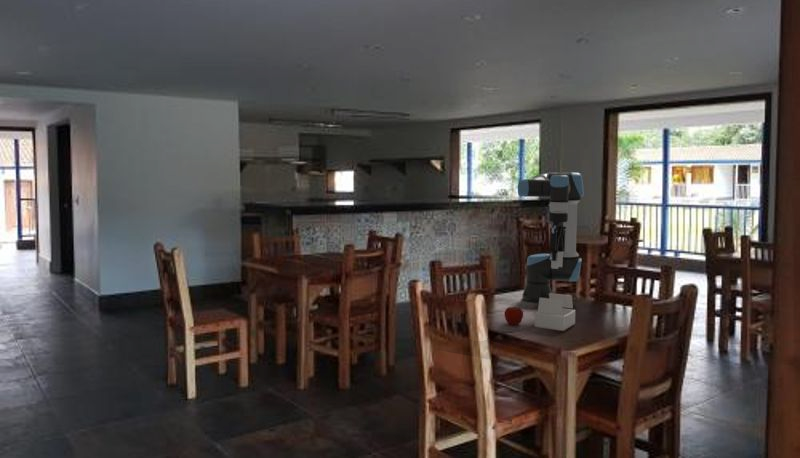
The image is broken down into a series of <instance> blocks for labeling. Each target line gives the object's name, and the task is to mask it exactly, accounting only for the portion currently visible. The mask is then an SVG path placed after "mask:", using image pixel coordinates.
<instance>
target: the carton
mask: <svg viewBox="0 0 800 458" xmlns="http://www.w3.org/2000/svg"><path fill="white" fill-rule="evenodd" d="M575 324H576V309H572V308H564V307H562V314H561V315H558V314H550V313H543V312H538V310H537V311H536V312H534V328H538V329H539V328H540V329H547V330H553V331H560V332H565V331H566V330H568V329H569V328H571V327H572V326H574V325H575Z"/></svg>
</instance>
